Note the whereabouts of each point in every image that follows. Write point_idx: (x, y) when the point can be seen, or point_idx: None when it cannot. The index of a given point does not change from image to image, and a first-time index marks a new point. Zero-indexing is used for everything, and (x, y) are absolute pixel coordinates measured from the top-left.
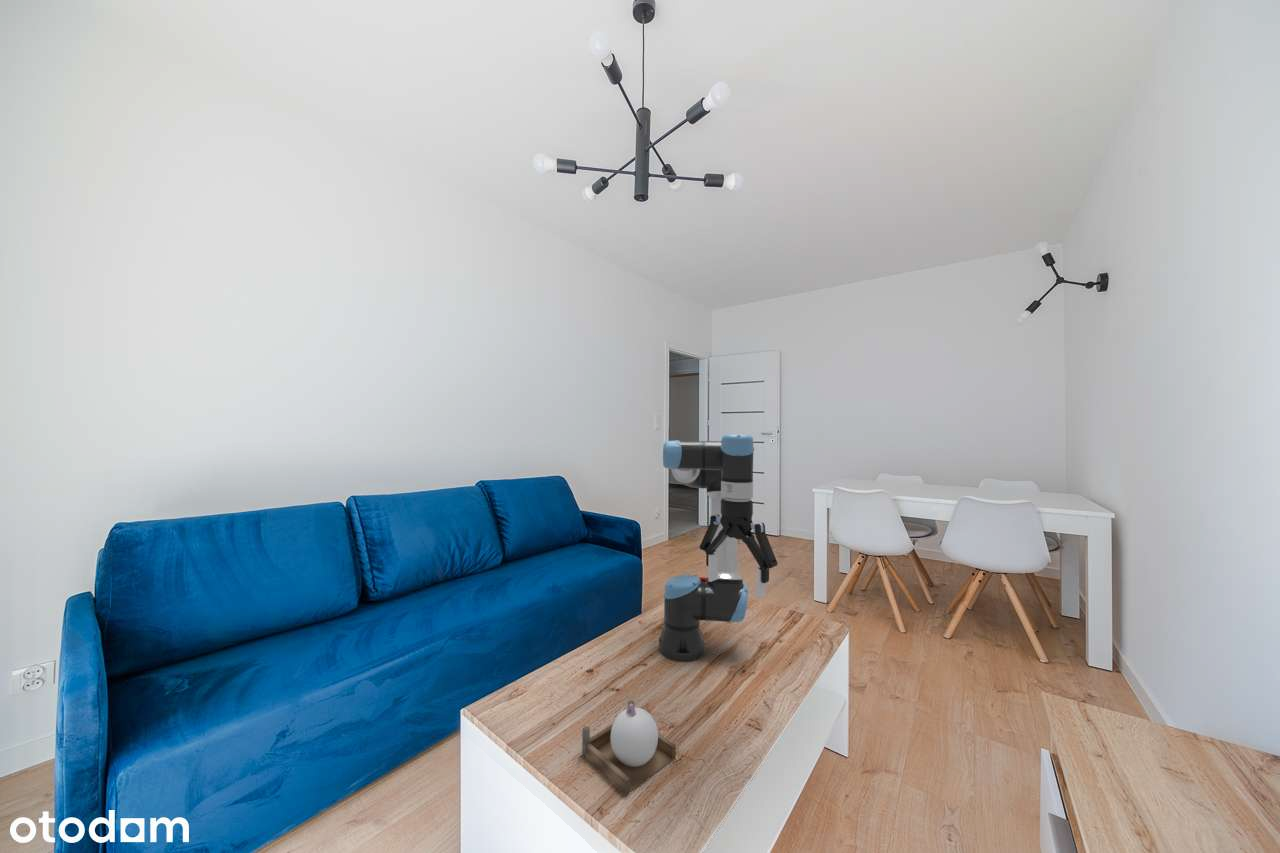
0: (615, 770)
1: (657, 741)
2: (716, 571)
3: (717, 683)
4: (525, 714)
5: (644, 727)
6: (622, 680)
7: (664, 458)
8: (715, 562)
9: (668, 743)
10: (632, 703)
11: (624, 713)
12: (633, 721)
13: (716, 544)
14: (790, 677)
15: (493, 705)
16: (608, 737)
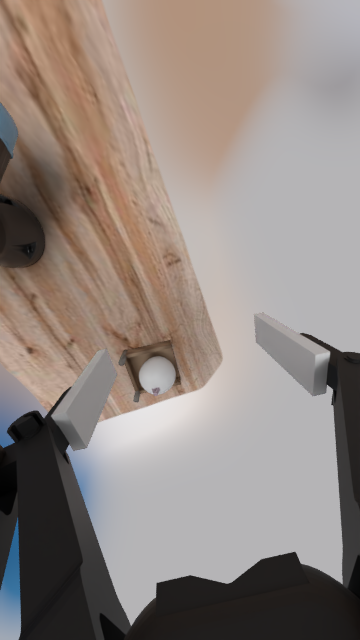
0: None
1: (169, 362)
2: (98, 365)
3: (99, 244)
4: None
5: (170, 382)
6: (58, 330)
7: None
8: (88, 393)
9: (166, 348)
10: (123, 362)
11: (151, 391)
12: (163, 389)
13: (87, 513)
14: (126, 137)
15: None
16: (134, 374)
